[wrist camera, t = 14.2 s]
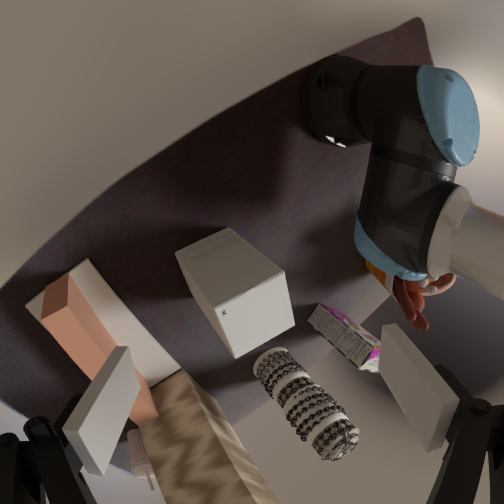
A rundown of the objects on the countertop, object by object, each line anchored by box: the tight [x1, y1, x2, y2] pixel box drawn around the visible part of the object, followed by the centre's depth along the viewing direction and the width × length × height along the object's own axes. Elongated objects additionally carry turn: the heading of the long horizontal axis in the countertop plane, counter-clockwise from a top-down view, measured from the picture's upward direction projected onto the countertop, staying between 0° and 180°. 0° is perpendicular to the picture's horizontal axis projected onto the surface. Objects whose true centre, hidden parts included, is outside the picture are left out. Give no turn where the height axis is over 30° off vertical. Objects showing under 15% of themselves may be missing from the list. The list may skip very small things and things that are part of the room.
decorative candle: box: [253, 347, 360, 461], centre depth 54 cm, size 9×9×25 cm
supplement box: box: [175, 227, 295, 359], centre depth 42 cm, size 9×9×15 cm
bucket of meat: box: [365, 259, 456, 331], centre depth 58 cm, size 20×16×20 cm
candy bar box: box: [307, 303, 381, 374], centre depth 60 cm, size 11×5×16 cm, turn 53°
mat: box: [25, 258, 181, 388], centre depth 45 cm, size 12×26×1 cm, turn 23°
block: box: [41, 273, 159, 425], centre depth 41 cm, size 4×24×8 cm, turn 16°
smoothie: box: [127, 429, 156, 490], centre depth 50 cm, size 6×6×14 cm
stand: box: [138, 369, 281, 504], centre depth 45 cm, size 13×15×30 cm
